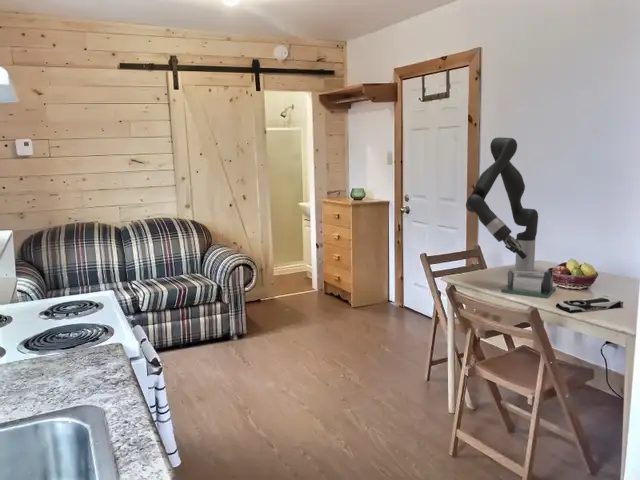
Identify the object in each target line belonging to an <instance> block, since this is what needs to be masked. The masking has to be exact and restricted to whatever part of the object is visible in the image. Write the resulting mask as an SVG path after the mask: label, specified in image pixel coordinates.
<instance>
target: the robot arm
mask: <svg viewBox="0 0 640 480" xmlns="http://www.w3.org/2000/svg"><path fill="white" fill-rule="evenodd" d="M517 150H518V142H517V140H516V139H515V138H512V137H502V136H501V137H495V138H493V139H492V140H491V142H490V154H491V155H492V157H493V159H494V163H492V164H491V165H489V167H488V168H486V169H485V170H484V171H483V172H482V173H481V175H480V176H479V178H478V179H477V182H476V184H475V185H474V188H473V191H472V192H471V193H470V196H468V198H467V199H466V202H465V208H466V210H467V211H468V212H470V213H475V214H476V215H477V216H478V220H479V221H480V223H481V224H482V225H483V226H484V227H485V228H486V229H487V231H488V232H489V233H490V234H491V235H492V236H493V238H494V239H496V241H497V242H499V243H500V242H502V241H503V243H504V245H505V246H504V247H505V248H506V249H507V250H509V251H510V252H512V253H514V254H515V268H514V270H535V260H536V257H535V256H536V237H537V233H538V223H539V213H538V211H537V210H536V209H534V208H526V207H525V208H524V207H523V205H522V202H521V201H522V197H523V196H524V193H525V190H526V185H525V182H524V178H523V176H522V174H521V173H520V171H519V170H518V168H516V167H515V165H514V164H513V163H512V162H511V160H512V159H513V157H514V156H515V154H516V152H517ZM499 176H500V177H501V180H502V182H503V186H504V189H505V192H506V194H507V198H508V201H509V204H510V210H511V215H512V219H513V222H514V224H515V225H517V226H520V227H525V230H524V231H522V232H519V233H516V235H515V236H516V238H515V237H513V236H512V235H510V234H511V233H512V229H511V228H510V227H508V226H507V225H506V223H505V222H504V221H503V220H502V219H501V218H499V217H498V215H496V213H494V212H493V210H492V209H491V208H490V207H489V205H488V203H486V201H485V200H486V197H487V195H488V194H489V192H491V189H492V187H493V186H494V184H495V182H496V180H497V179H498V177H499ZM527 274H531V273H527Z"/></svg>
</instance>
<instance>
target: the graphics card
mask: <svg viewBox="0 0 640 480" xmlns="http://www.w3.org/2000/svg"><path fill="white" fill-rule="evenodd" d="M555 308H557V309H559V310H562V311H564V312H567V313H568V314H576V313H585V312H594V311H595V312H596V311H603V310H604V311H605V310H610V309H611V310H613V309H623V308H624V301H621V300H618V299H616V298H614V297H611V296H610V297H609V296H607V295H602V296H597V297H593V298H592V297H591V298H584V299H571V300H561V301H557V303H556V304H555Z"/></svg>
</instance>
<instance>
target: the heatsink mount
mask: <svg viewBox="0 0 640 480" xmlns="http://www.w3.org/2000/svg"><path fill="white" fill-rule="evenodd" d="M546 271H549V273H548V272H544V274H532V273H530V274H527V273H516V275H515V273H512V272H509V271H508V272H507V284H506V285H505V286H503V287H502V288H501V289H500V292H501V293H504V294H509V295H510V294H512V295H518V296H519V295H520V296H527V297H534V298H543V299H549V298H550V296H551V295H552V294H553V293H554V292H555V291H556V286H554V285H553V284H554V274H553V271H554V270H548V269H547V270H546Z"/></svg>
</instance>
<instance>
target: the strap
mask: <svg viewBox="0 0 640 480" xmlns="http://www.w3.org/2000/svg"><path fill="white" fill-rule="evenodd" d="M508 272H512V273H514V274H519V273H530V274H536V275H544V272H548V273H549V271H547V270H544V269H543V270H542V269H541V270H539V269H538V270H537V269H536V270H535V269H534V270H515V268H514V269H513V268H510V269H509V270H508Z"/></svg>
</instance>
